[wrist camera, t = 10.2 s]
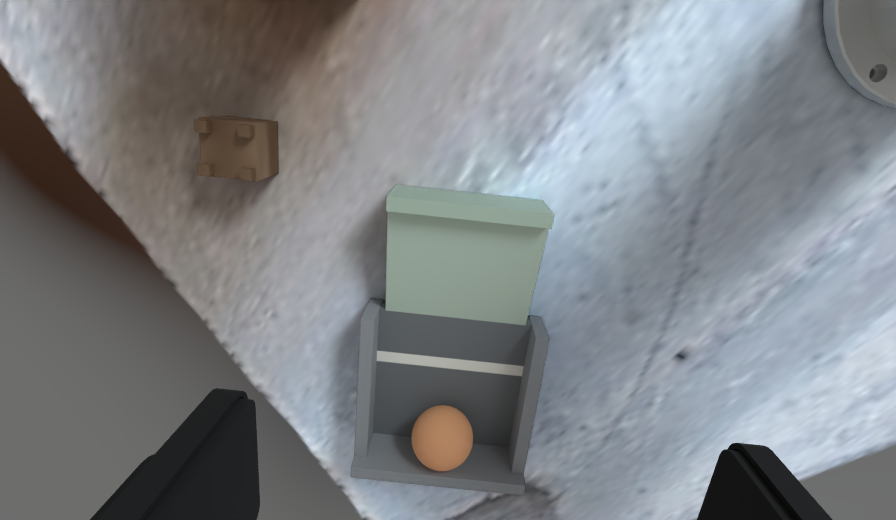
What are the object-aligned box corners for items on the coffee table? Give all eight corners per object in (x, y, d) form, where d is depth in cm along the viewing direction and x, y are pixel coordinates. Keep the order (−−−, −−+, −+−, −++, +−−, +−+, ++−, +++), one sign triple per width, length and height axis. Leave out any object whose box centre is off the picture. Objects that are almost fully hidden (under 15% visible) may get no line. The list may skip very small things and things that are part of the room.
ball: (477, 397, 30) (475, 459, 27) (470, 425, 33) (468, 483, 30) (416, 390, 30) (408, 452, 27) (414, 418, 33) (407, 477, 30)
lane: (541, 316, 30) (552, 346, 27) (516, 451, 34) (523, 495, 30) (370, 298, 30) (357, 326, 26) (363, 435, 34) (350, 477, 30)
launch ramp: (542, 200, 28) (554, 214, 24) (522, 316, 30) (530, 344, 27) (396, 184, 28) (386, 196, 24) (388, 302, 30) (378, 328, 27)
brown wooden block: (277, 121, 27) (251, 123, 24) (278, 173, 28) (252, 182, 24) (226, 115, 27) (191, 117, 24) (228, 168, 28) (196, 176, 24)
